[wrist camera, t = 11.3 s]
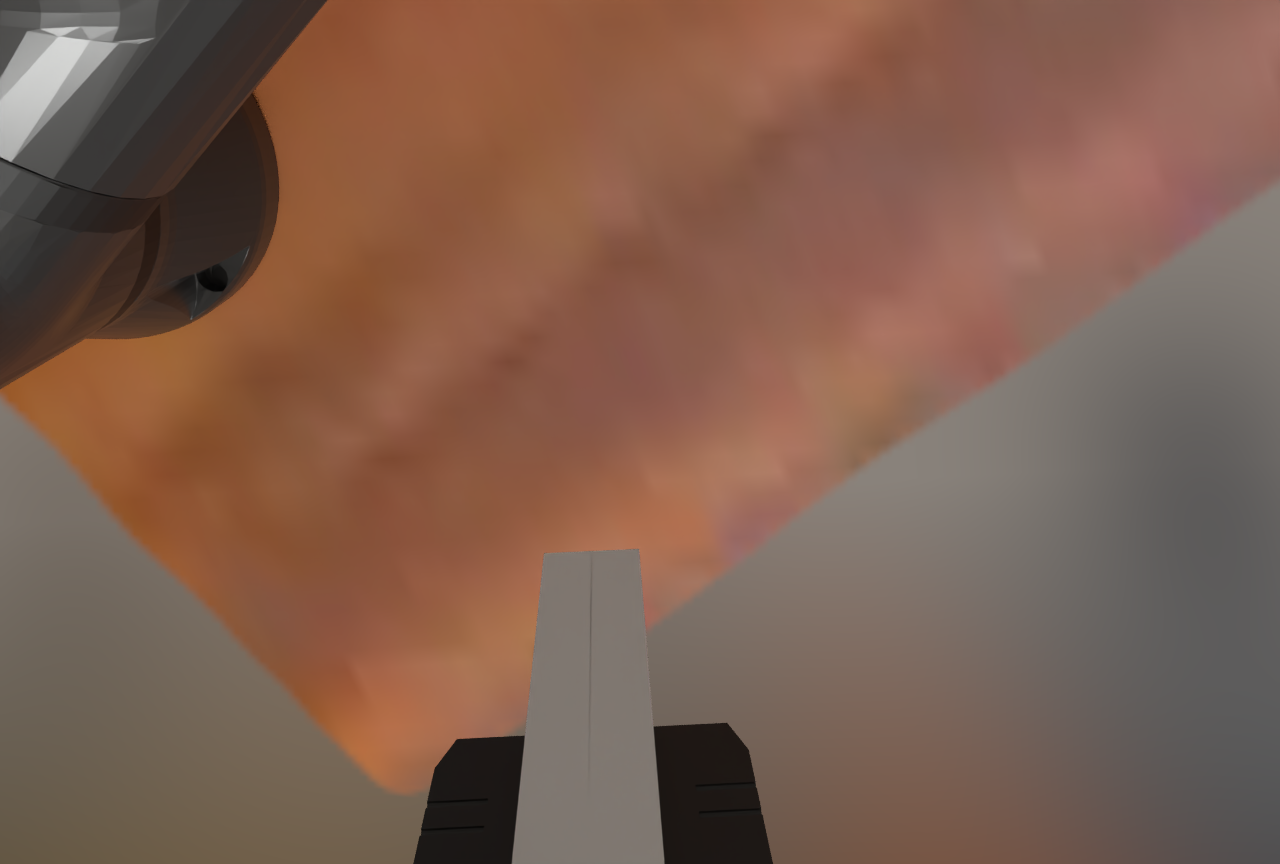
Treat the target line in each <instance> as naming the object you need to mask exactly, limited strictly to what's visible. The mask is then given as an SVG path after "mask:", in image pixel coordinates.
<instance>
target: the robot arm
mask: <svg viewBox="0 0 1280 864" xmlns="http://www.w3.org/2000/svg"><path fill="white" fill-rule="evenodd" d="M326 1H327V0H0V389H1V388H3V387H5V386H6V385H8V384H10V383H11V382H13V381H15V380H17V379H18V378H20V377H22V376H23V375H25V374H27V373H28V372H30V371H32V370H33V369H35V368H37V367H38V366H40V365H42V364H44V363H45V362H47V361H49V360H50V359H52V358H54V357H55V356H57V355H59V354H60V353H62V352H64V351H65V350H67V349H69V348H70V347H72V346H74V345H76V344H77V343H79V342H81V341H82V340H84V339H132V338H142V337H149V336H153V335H158V334H162V333H165V332H169V331H172V330H175V329H178V328H180V327H183V326H185V325H188V324H190V323H192V322H194V321H196V320H198V319H199V318H201V317H203V316H204V315H206V314H208V313H209V312H210V311H212V310H213V309H215V308H216V307H218V306H219V305H221V304H222V303H223V302H225V301H226V300H227V299H229V298H230V297H231V296H232V295H234V294H235V293H236V292H237V291H238V290H239V289H240V288H241V287H242V286H243V285H244V284H245V283H246V282H247V281H248V279H249V278H250V277H251V276H252V274H253V273H254V271H255V270H256V268H257V267H258V265H259V264H260V262H261V260H262V258H263V257H264V255H265V253H266V250H267V248H268V246H269V243H270V240H271V237H272V235H273V231H274V227H275V223H276V218H277V212H278V202H279V178H278V168H277V161H276V156H275V151H274V147H273V144H272V140H271V136H270V133H269V131H268V128H267V125H266V122H265V120H264V118H263V115H262V113H261V111H260V109H259V107H258V105H257V103H256V101H255V99H254V97H253V96H252V94H251V93H252V92H253V91H254V90H255V88H256V87H257V86H258V85H259V84H260V82H261V81H262V80H263V79H264V77H265V76H266V75H267V74H268V73H269V71H270V70H271V69H272V68H273V66H274V65H275V64H276V63H277V62H278V60H279V59H280V58H281V57H282V55H283V54H284V53H285V52H286V50H287V49H288V48H289V47H290V46H291V44H292V43H293V42H294V41H295V39H296V38H297V37H298V36H299V35H300V33H301V32H302V31H303V30H304V28H305V27H306V26H307V25H308V24H309V22H310V21H311V20H312V19H313V17H314V16H315V15H316V14H317V12H318V11H319V10H320V9H321V8H322V6H323V5H324V4H325V3H326ZM413 864H773V862H772V857H771V853H770V848H769V844H768V838H767V834H766V829H765V824H764V820H763V815H762V814H761V806H760V801H759V796H758V792H757V788H756V784H755V777H754V773H753V768H752V763H751V758H750V754H749V750H748V748H747V747H746V746H745V745H744V743H743V742H742V741H741V740H740V738H739V737H738V736H737V735H736V733H735V732H734V731H733V730H732V728H731V727H730V726H729V725H728V724H727V723H718V724H717V723H715V724H695V725H677V726H676V725H675V726H658V727H657V726H656V727H653V716H652V703H651V691H650V679H649V666H648V654H647V643H646V629H645V617H644V605H643V592H642V580H641V568H640V555H639V549H628V550H606V551H584V552H562V553H544V559H543V568H542V578H541V587H540V597H539V607H538V616H537V626H536V636H535V645H534V655H533V664H532V674H531V684H530V693H529V703H528V712H527V722H526V732H525V736H509V737H489V738H470V739H457V740H456V741H455V743H454V744H453V745H452V746H451V748H450V749H449V750H448V752H447V753H446V754H445V756H444V757H443V758H442V760H441V761H440V762H439V764H438V765H437V766H436V767H435V769H434V774H433V778H432V783H431V787H430V792H429V796H428V801H427V808H426V810H425V814H424V819H423V823H422V828H421V836H420V837H419V841H418V845H417V850H416V854H415V859H414V863H413Z"/></svg>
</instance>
